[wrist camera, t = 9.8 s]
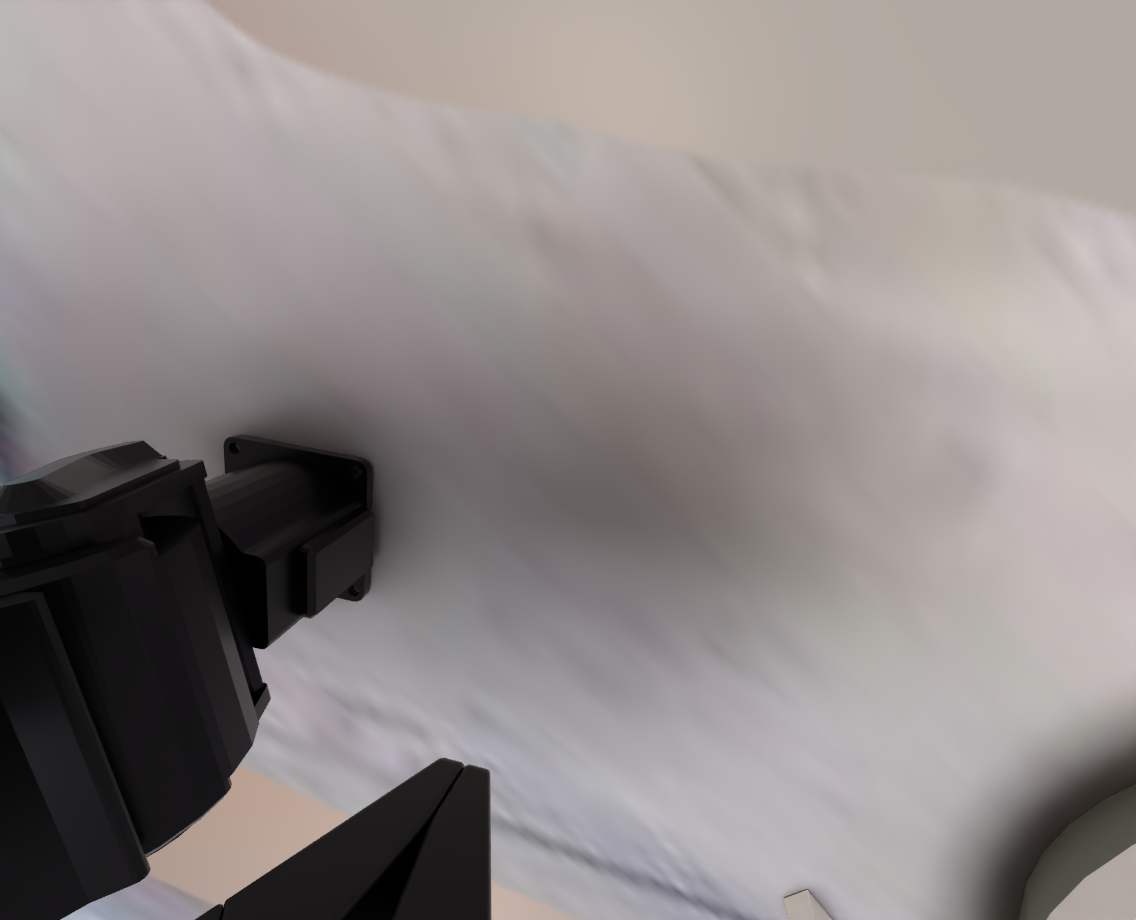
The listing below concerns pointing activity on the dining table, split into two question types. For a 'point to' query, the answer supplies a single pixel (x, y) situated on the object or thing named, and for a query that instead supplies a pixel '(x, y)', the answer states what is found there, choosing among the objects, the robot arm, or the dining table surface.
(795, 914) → the white angular bar frame
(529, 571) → the dining table surface
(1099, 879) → the bowl
